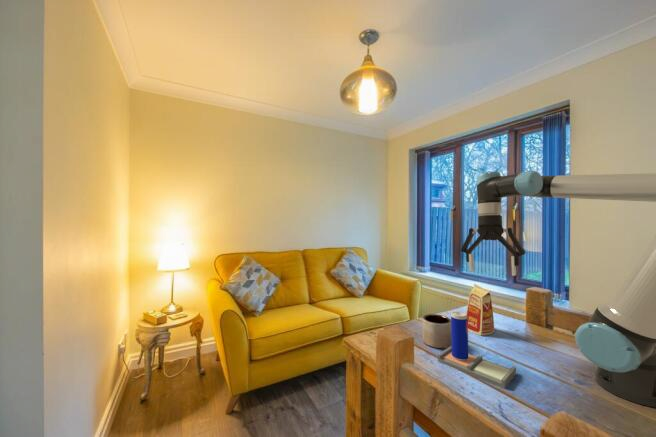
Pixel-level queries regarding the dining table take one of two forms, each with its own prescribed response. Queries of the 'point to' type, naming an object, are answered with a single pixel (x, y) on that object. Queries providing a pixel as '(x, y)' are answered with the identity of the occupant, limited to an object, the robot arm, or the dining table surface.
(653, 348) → the robot arm
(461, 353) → the beverage can
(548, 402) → the dining table surface
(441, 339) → the planter
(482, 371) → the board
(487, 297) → the milk carton
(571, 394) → the dining table surface
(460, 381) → the dining table surface
